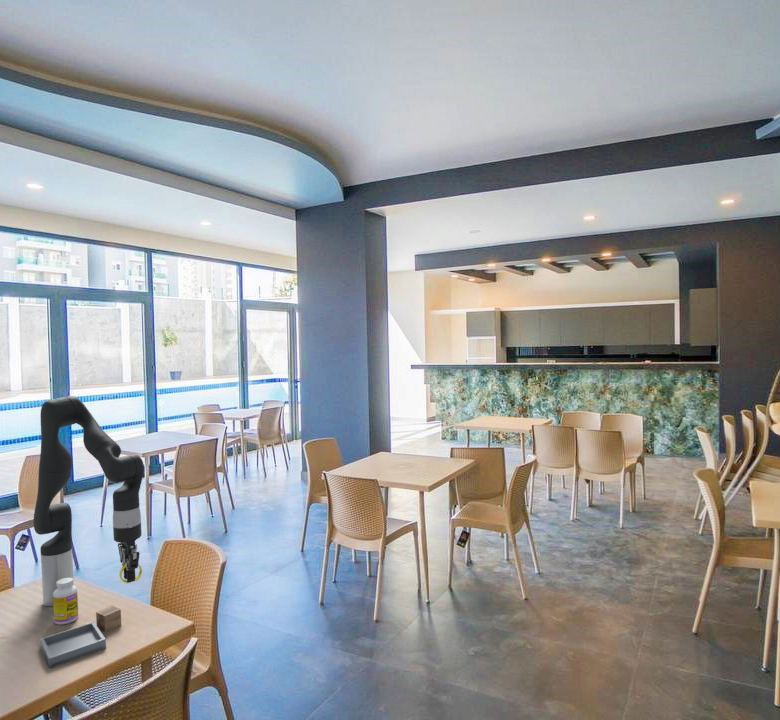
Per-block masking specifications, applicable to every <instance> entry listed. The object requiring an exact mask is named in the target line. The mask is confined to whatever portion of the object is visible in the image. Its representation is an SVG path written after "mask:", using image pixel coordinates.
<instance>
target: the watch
mask: <svg viewBox="0 0 780 720" xmlns="http://www.w3.org/2000/svg"><path fill="white" fill-rule="evenodd" d="M132 565H133V564H132ZM124 568H126V563H125V565H124V566H122V567H121V568H120V570H119V579H120V580H121V581H122V582H123V583H125V584H130V583H131V582H129V583H128V582H127V579H124V577H123V573H124ZM138 569H139V572H138V575H137V576H135V581H134V582H136V581H139V579H140V578H141V576H142V574H143V569H142V565H140V564H139V563H138Z"/></svg>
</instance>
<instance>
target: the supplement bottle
mask: <svg viewBox="0 0 780 720" xmlns="http://www.w3.org/2000/svg"><path fill="white" fill-rule="evenodd" d="M56 586H57V589H56V590H55V591H54V593H53V603H54V606H53V622H54V623H55V624H56V625H60V626H61V625H63V626H65V625H68V624H71V623H72V622H74V621H76V620H77V619H78V618H79V603H78V601H79V600H78V587H77V586H76V585H75V584H74V585H73V578H63V579H60V580H58V581H57V582H56Z"/></svg>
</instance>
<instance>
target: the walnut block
mask: <svg viewBox="0 0 780 720" xmlns="http://www.w3.org/2000/svg"><path fill="white" fill-rule="evenodd" d="M95 617H96V626H97V627H98V629H99V630H100V631H102V632H105V633H106V632H109V631H111V630H113V629H116V628H117V627H120V626H121V625H122V609H120V608H119V607H116V606H114V605H110V606H108V607H105V608H103V609H100V610H98V611H96V613H95Z"/></svg>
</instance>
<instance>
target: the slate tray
mask: <svg viewBox="0 0 780 720" xmlns="http://www.w3.org/2000/svg"><path fill="white" fill-rule="evenodd" d="M101 631H102V630H100V629H98V627H97V623H95V621H93V620H92V621H91V622H87V623H84V624H81V625H78V626H75V627H72V628H69V629H66V630H64V631H63V630H62V631H60V632H57V633H53V634H50V635H47V636H45V637H42V638H39V644H40V650H41V652H42V654H43V656H44V658H45V661H46V663H47V665H48V668H49V669H51V668H55V667H58V666H60V665H61V664H65V663H68V662H71V661H73V660H76V659H79V658H81V657H85V656H88V655H90V654H93V653H95V652H98V651H101V650H102V651H103V650H104V649H106V648H107V639H106V637H105V636H104V634H103V632H101Z"/></svg>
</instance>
